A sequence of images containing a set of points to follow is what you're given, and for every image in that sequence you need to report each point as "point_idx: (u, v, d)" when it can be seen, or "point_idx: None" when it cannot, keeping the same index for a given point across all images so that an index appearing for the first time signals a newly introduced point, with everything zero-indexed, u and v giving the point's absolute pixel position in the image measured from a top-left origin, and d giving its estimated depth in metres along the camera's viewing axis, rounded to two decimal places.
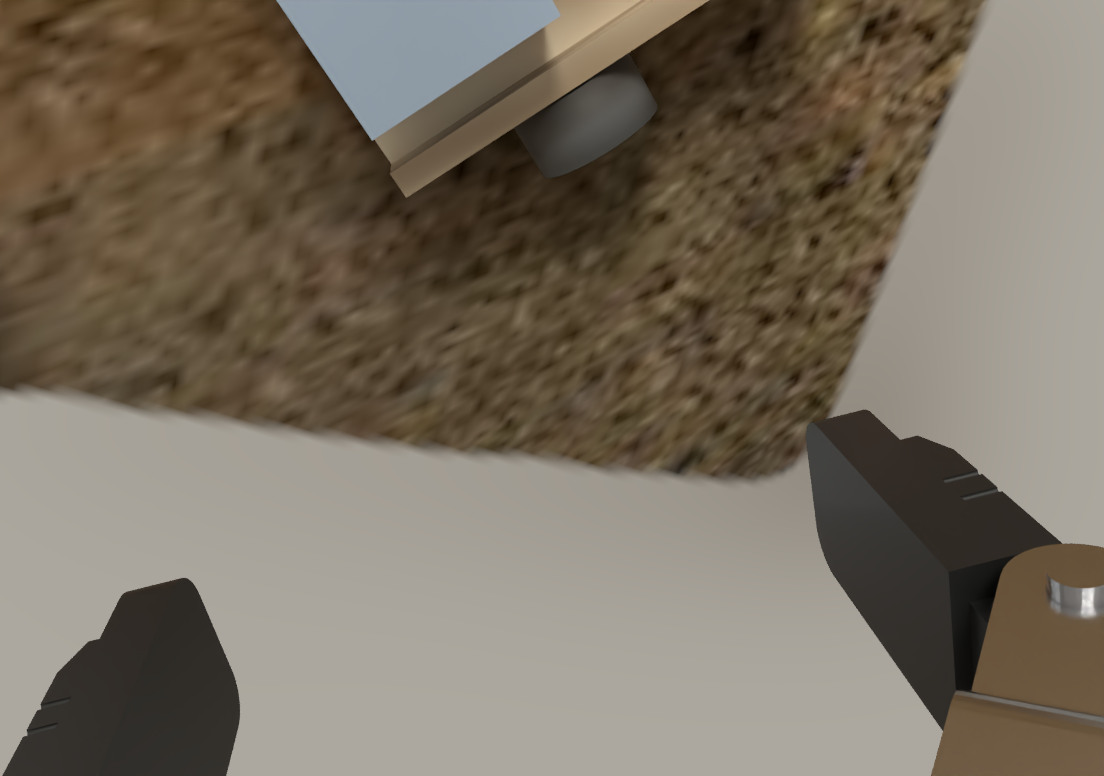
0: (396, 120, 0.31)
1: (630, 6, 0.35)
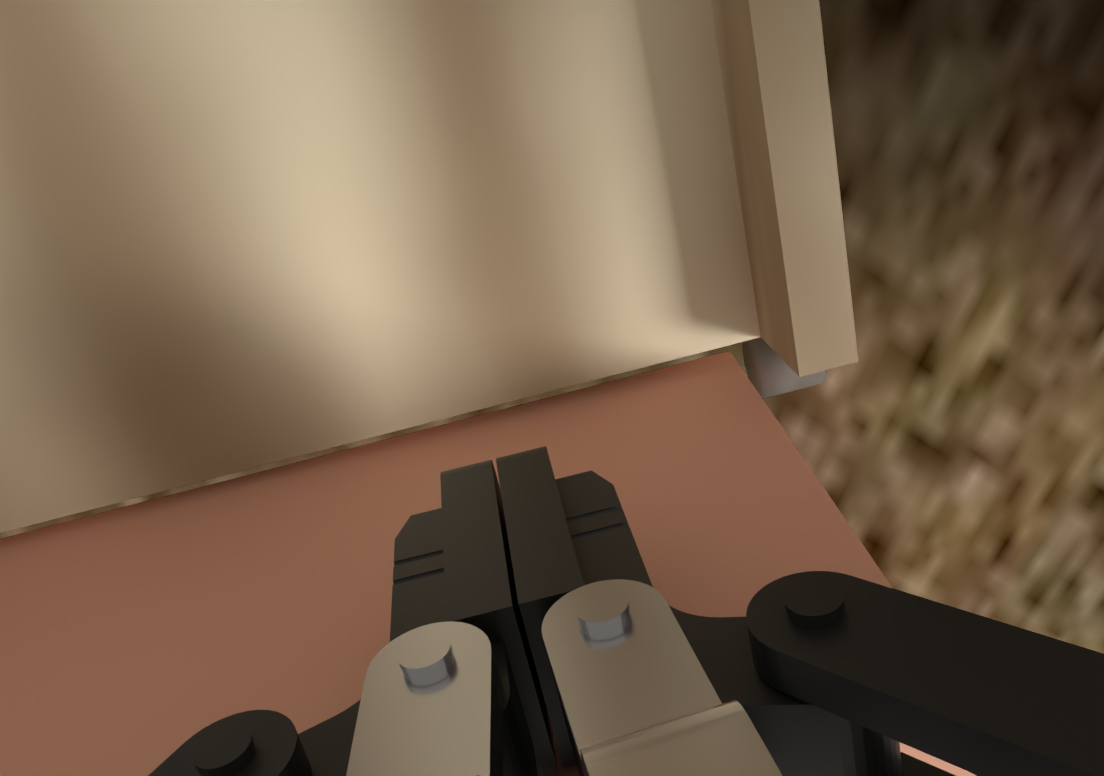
0: None
1: None
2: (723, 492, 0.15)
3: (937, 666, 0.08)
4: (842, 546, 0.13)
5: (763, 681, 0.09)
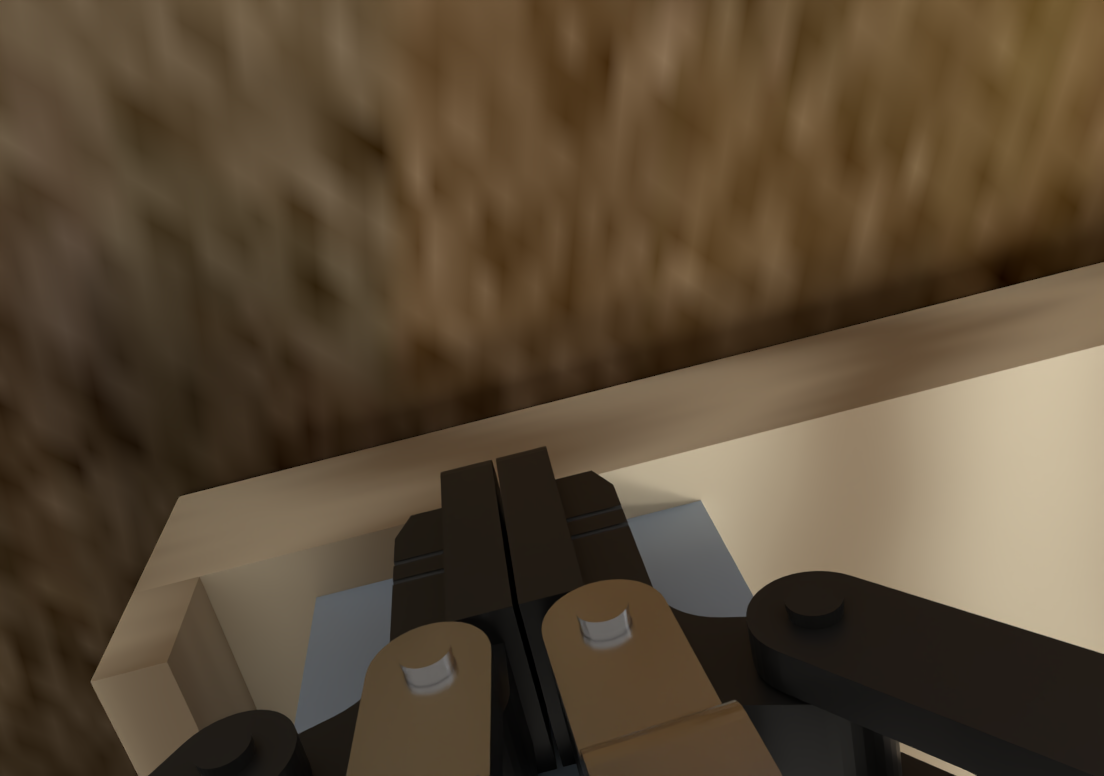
0: None
1: None
2: None
3: (937, 666, 0.08)
4: None
5: (763, 681, 0.09)
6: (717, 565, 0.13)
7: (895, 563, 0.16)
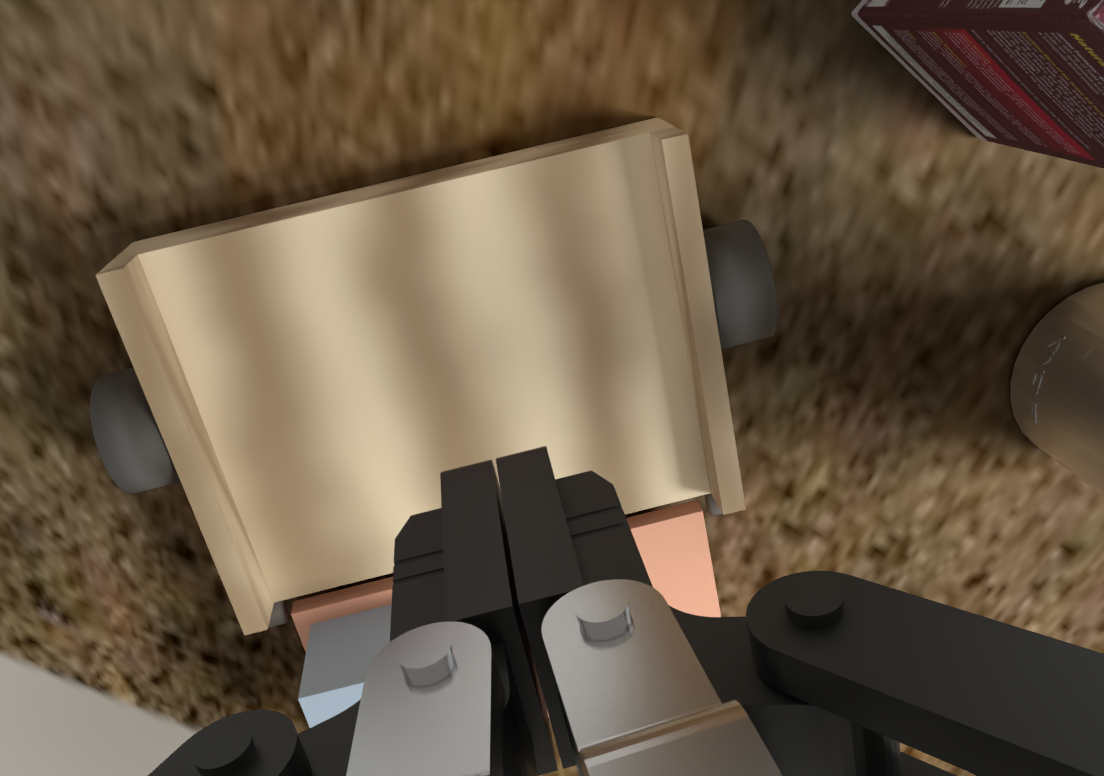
0: (308, 717, 0.40)
1: (229, 488, 0.41)
2: (687, 591, 0.46)
3: (937, 666, 0.08)
4: (715, 616, 0.47)
5: (763, 681, 0.09)
6: None
7: (426, 263, 0.39)
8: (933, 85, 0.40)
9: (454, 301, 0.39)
